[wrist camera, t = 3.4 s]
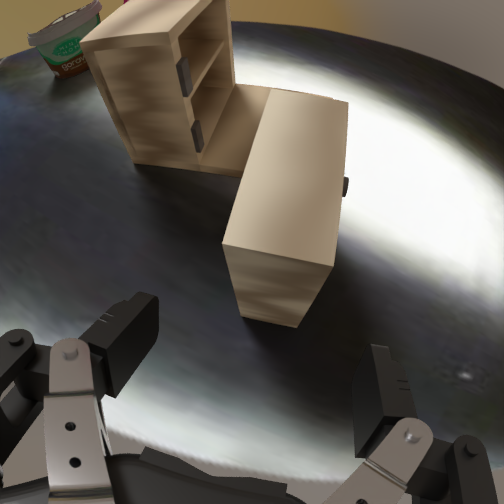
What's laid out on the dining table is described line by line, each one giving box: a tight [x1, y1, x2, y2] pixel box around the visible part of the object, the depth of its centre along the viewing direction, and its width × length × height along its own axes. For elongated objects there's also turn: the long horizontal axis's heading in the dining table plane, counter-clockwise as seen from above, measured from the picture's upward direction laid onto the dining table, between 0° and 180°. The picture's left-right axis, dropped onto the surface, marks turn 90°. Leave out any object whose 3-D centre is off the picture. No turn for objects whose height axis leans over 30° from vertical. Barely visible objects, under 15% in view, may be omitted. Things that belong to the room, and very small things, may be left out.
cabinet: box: [79, 0, 333, 178], centre depth 23 cm, size 18×12×14 cm
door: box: [222, 89, 349, 328], centre depth 18 cm, size 5×9×12 cm, turn 167°
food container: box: [28, 0, 102, 79], centre depth 33 cm, size 12×6×10 cm, turn 125°
